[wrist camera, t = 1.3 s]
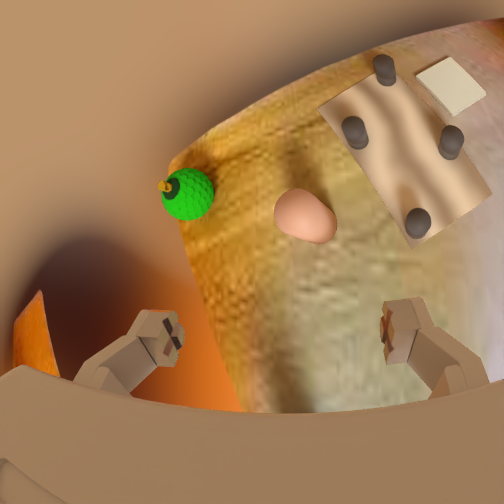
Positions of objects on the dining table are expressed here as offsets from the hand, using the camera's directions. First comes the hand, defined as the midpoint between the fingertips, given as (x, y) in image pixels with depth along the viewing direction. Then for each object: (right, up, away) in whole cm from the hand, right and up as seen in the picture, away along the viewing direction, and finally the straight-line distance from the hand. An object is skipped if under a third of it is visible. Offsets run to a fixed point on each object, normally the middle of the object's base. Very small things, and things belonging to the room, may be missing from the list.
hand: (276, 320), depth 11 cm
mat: (+28, +26, +18) cm, 42 cm away
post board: (+19, +17, +22) cm, 34 cm away
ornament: (-9, +11, +37) cm, 39 cm away
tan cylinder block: (+8, +6, +27) cm, 29 cm away
